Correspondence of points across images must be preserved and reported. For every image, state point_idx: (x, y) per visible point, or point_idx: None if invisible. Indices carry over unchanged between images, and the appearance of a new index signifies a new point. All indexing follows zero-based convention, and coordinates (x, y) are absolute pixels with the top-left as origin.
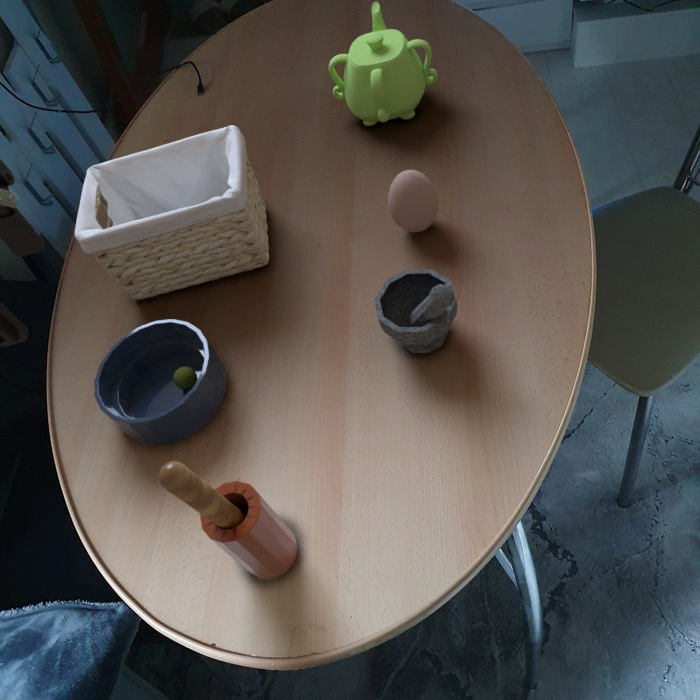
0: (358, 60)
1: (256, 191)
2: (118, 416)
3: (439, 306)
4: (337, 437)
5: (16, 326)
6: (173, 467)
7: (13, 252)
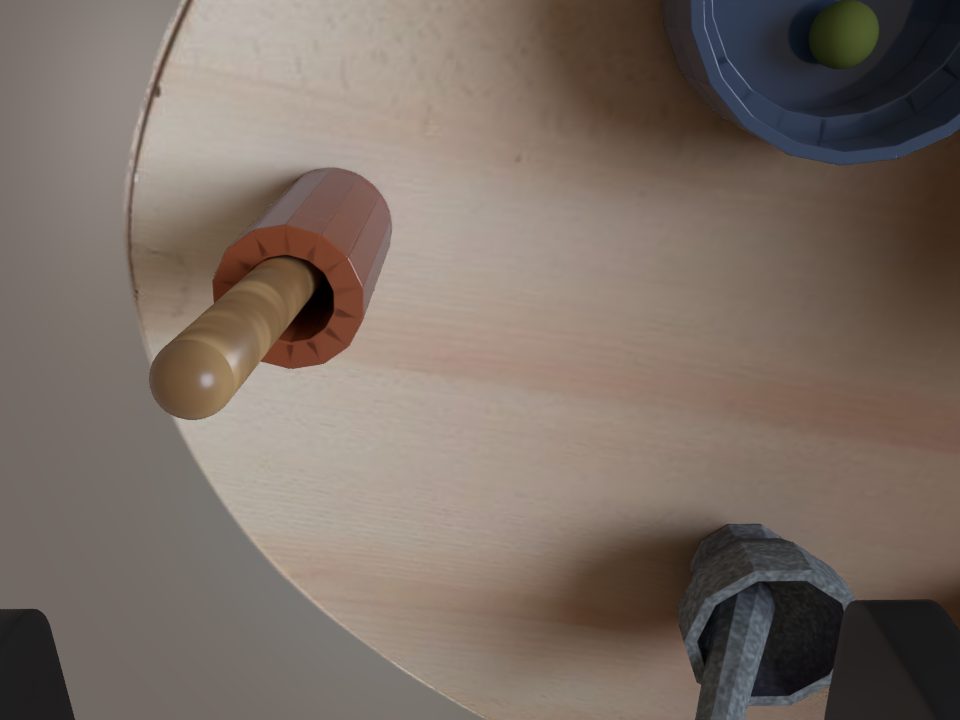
0: None
1: None
2: None
3: None
4: (556, 379)
5: None
6: (188, 410)
7: (878, 618)
